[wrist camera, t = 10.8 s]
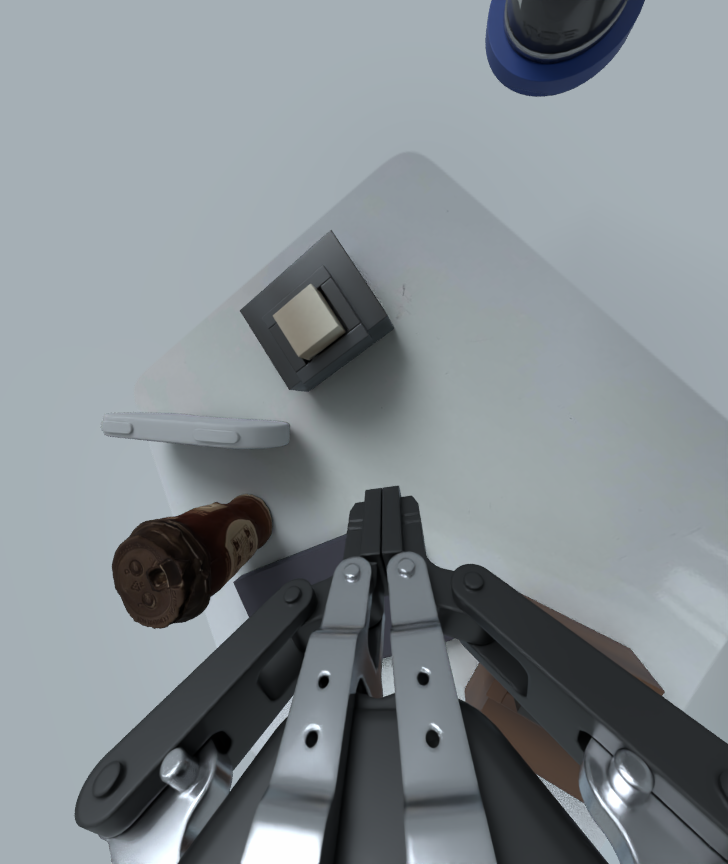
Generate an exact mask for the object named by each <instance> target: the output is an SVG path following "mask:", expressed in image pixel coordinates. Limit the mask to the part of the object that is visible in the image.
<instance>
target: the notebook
mask: <svg viewBox="0 0 728 864" xmlns="http://www.w3.org/2000/svg"><path fill="white" fill-rule="evenodd" d="M346 536H347V534H345V535H343V536H340V537H338V538H335V539H332V540H330V541H327V542H325V543H322V544H320V545H317V546H315V547H312V548H310V549H307V550H305V551H302V552H299V553H297V554H294V555H292V556H289V557H287V558H284V559H282V560H279V561H277V562H274V563H272V564H269V565H266V566H264V567H261V568H259V569H256V570H254V571H251V572H249V573H246V574H244V575H241V576H240V577H239V578H238V579H237V580H236V581H234V582H233V583H234V585H235V587H236V589H237V592H238V594H239V596H240V598H241V600H242V603H243V605H244V607H245V609H246V611H247V614H248V616H249V617H251V616H252V615H253V614H254V613H255V612H256V611H257V610H258V609H259V608H260V607H261V606H262V605H263V604H264V603H265V602H266V601H267V600H268V599H269V598H270V597H271V596H272V595H274V594H275V593H276V592H277V591H278V590H279V589H280V588H281V587H282V586H283V585H284V584H285V583H287V582H289V581H291V580H293V579H297V578H302V579H306V580H307V581H309V582H310V584H311V585H313V584H315V583H318V582H320V581H323V580H325V579H327V578H329V577H331V576H332V575H333V574H334V571H335V569H336V567H337V566H338V565H339V564H340V563H341V562H342V561H343V557H344V550H345V543H346ZM384 612H385V629H384V643H383V657H382V658H386V657H390V656H392V651H391V639H390V629H391V628H392V622H391V611H390V600H389V596H384ZM443 636H444V641H445V642H447V641H450V640H452V639H454V638H453V637H450V636H446V635H443Z"/></svg>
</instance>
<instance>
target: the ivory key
mask: <svg viewBox="0 0 728 864" xmlns="http://www.w3.org/2000/svg"><path fill="white" fill-rule="evenodd" d="M273 317H274V319H275V321H276V322H277V324H278V325H279V327H280V328H281V330H282V332H283V333H284V335H285V336H286V338H287V340H288V341H289V343H290V344H291V346H292V347H293V349H294V351H295V352H296V354H297V355H298V357H300V358H303V359H306V360H311V359H312V358H313V357H314V356H316V355H317V354H318V353H320V352H321V351H322V350H323V349H325V348H326V347H327V346H329V345H330V344H331V343H333V342H334V341H335V340H336V339H338V338H339V337H340V336H342V335H343V334H344V333H345V332H346V331H345V330H344V328H343V326H342V325H341V323H340V322H339V320H338V319H337V317H336V316H335V314H334V313H333V311H332V309H331V308H330V306H329V305H328V303H327V302H326V300H325V299H324V297H323V295H322V294H321V293H320V292H319V291H318V290H317V289H316V288H315V287H314V286H313V285H312V284H309V285H308V286H307V287H306V288H305V289H303V290H302V291H301V292H300V293H299V294H298V295H296V296H295V297H294V298H293V299H292V300H290V301H289V302H288V303H287V304H286V305H285V306H283V307H282V308H281V309H280V310H279V311H278V312H276V313H275V314H274V315H273Z"/></svg>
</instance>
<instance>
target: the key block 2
mask: <svg viewBox="0 0 728 864" xmlns="http://www.w3.org/2000/svg"><path fill="white" fill-rule="evenodd" d="M520 594H521V593H520ZM522 595H523V594H522ZM523 596H524V597H526V598H527V599H529V600H530V601H531V602H533V603H534V604H535V605H537V606H538V607H540V608H541V609H542V610H544V611H545V612H547V613H548V614H549V615H551V616H552V617H553V618H555V619H556V620H558V621H559V622H560V623H562V624H563V625H564V626H566V627H567V628H569V629H570V630H571V631H573V632H574V633H575V634H577V635H578V636H580V637H581V638H582V639H584V640H585V641H586V642H588V643H589V644H591V645H592V646H593V647H595V648H596V649H598V650H599V651H600V652H602V653H603V654H604V655H606V656H607V657H609V658H610V659H611V660H613V661H614V662H615V663H617V664H618V665H620V666H621V667H622V668H624V669H625V670H626V671H628V672H629V673H631V674H632V675H633V676H635V677H636V678H637V679H639V680H640V681H642V682H643V683H644V684H646V685H647V686H649V687H650V688H651V689H653V690H654V691H655V692H657V693H658V694H660V695H661V696H662V695H663V694H664V690H663V689H662V688H661V686H660V685H659V684H658V683H657V681H656V680H655V679H654V678H653V676H652V675H651V674H650V673H649V671H648V670H647V669H646V668H645V666H644V665H643V664H642V663H641V661H640V660H639V659H638V658H637V656H636V655H635V654H634V653H633V651H632V650H631V649H630V648H628V647H626V646H624V645H622V644H620V643H618V642H616V641H614V640H612V639H610V638H608V637H606V636H604V635H602V634H600V633H598V632H596V631H594V630H592V629H590V628H588V627H586V626H584V625H582V624H580V623H578V622H576V621H574V620H572V619H570V618H568V617H566V616H564V615H562V614H560V613H558V612H556V611H554V610H552V609H550V608H549V607H547V606H545V605H543V604H541V603H539V602H537V601H535V600H533V599H531V598H529V597H527V596H525V595H523ZM465 700H466V702H467V703H469V704H470V705H472V706H473V707H475V708H477V709H478V710H479V711H481V712H482V713H483V714H484V715H486V716H487V717H488V718H489V719H490V720H491V721H492V722H493V723H494V724H495V725H496V726H497V727H498V728H499V730H500V731H501V732H502V733H503V734H504V736H505V737H506V738H507V739H508V741H509V742H510V743H511V744H512V746H513V747H514V748H515V749H516V750H517V752H518V753H519V754H520V755H521V757H522V758H523V759H524V760H525V761H526V763H527V764H528V765H529V766H530V768H531V769H532V770H533V771H534V773H535V774H537V775H539V776H540V777H542V778H544V779H545V780H547V781H549V782H550V783H552V784H553V785H555V786H557V787H558V788H560V789H562V790H563V791H565V792H567V793H568V794H570V795H571V796H573V797H575V798H576V799H578V800H580V801H581V802H583V803H584V801H583V798H582V795H581V792H580V788H579V781H578V774H579V768H580V765H579V764H578V763H577V762H576V761H575V760H574V759H573V758H572V757H571V756H570V755H569V754H568V753H567V752H566V751H565V750H564V749H563V748H562V747H561V746H560V745H559V743H558V742H557V741H556V740H555V739H554V738H553V737H552V736H551V735H550V734H549V733H548V732H547V731H546V730H545V729H544V728H543V727H542V726H540V725H538V724H537V723H535V722H533V721H531V720H530V719H528V718H526V717H525V716H523V715H521V714H519V713H518V712H517V709H516V705H515V701H514V697H513V696H512V695H511V694H510V693H509V692H508V691H507V690H506V689H505V688H504V687H503V686H502V685H501V684H500V683H499V682H498V681H497V680H496V679H495V678H494V677H493V676H492V675H491V674H490V673H489V672H488V671H487V670H486V669H485V667H484V666H483V665H482V664H481V663H479V665H478V666H477V668H476V670H475V672H474V674H473V675H472V677H471V679H470V681H469V682H468V684H467V686H466V688H465Z"/></svg>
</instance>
